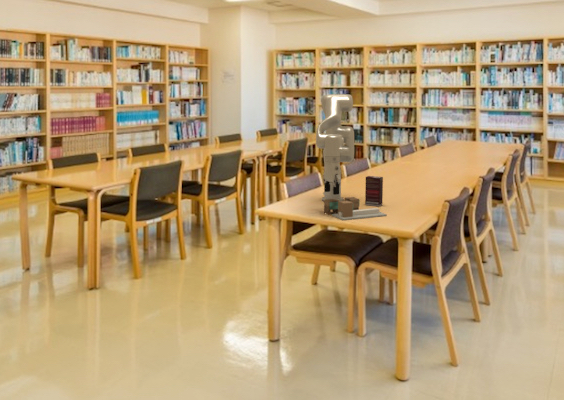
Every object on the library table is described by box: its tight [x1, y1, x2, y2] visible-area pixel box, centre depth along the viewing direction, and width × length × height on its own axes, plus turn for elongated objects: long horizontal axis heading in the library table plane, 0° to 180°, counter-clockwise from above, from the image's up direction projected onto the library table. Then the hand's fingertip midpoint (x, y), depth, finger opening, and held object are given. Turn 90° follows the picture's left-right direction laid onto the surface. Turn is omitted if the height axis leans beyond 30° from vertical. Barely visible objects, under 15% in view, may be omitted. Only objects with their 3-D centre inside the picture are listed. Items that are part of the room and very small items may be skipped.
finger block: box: [323, 199, 339, 216], centre depth 301 cm, size 6×6×7 cm
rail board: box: [331, 200, 388, 221], centre depth 295 cm, size 12×25×8 cm, turn 113°
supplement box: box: [364, 175, 384, 207], centre depth 320 cm, size 9×5×16 cm, turn 59°
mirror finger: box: [344, 196, 361, 210], centre depth 306 cm, size 6×6×7 cm
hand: (331, 193), depth 299 cm, fingers open, 9 cm apart
